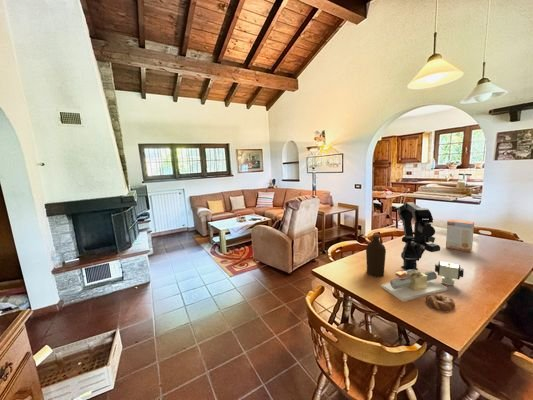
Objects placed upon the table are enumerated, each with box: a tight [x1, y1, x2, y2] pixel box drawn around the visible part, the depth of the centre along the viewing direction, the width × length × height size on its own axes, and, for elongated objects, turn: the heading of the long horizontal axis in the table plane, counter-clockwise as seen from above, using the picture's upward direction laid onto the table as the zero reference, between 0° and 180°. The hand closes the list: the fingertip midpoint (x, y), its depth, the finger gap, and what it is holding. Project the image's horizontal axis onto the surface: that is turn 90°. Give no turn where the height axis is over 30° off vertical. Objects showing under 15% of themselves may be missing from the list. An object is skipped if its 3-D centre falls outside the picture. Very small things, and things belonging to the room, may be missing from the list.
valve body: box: [389, 269, 438, 291], centre depth 119 cm, size 8×26×7 cm, turn 105°
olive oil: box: [365, 233, 387, 278], centre depth 135 cm, size 11×11×25 cm
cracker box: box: [445, 219, 475, 253], centre depth 163 cm, size 14×6×21 cm, turn 38°
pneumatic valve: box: [434, 261, 464, 286], centre depth 121 cm, size 6×12×12 cm, turn 51°
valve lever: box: [395, 269, 418, 279], centre depth 117 cm, size 12×3×2 cm, turn 108°
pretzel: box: [425, 293, 456, 313], centre depth 106 cm, size 12×11×4 cm
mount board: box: [381, 280, 448, 302], centre depth 120 cm, size 14×28×2 cm, turn 105°
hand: (419, 257), depth 126 cm, fingers closed
